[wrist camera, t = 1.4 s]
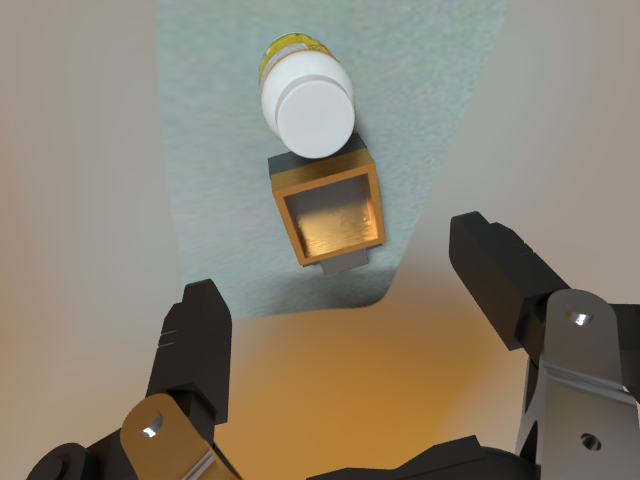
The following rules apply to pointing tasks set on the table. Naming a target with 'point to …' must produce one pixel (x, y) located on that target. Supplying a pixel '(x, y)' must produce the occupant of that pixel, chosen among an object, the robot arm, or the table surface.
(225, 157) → the table surface
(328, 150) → the supplement bottle
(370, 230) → the orange open box frame
